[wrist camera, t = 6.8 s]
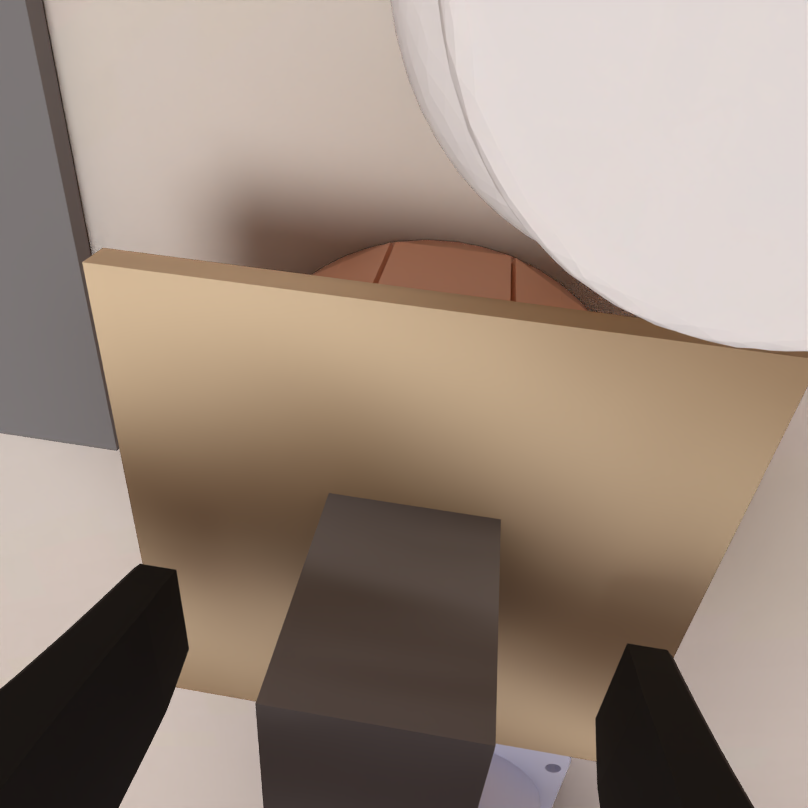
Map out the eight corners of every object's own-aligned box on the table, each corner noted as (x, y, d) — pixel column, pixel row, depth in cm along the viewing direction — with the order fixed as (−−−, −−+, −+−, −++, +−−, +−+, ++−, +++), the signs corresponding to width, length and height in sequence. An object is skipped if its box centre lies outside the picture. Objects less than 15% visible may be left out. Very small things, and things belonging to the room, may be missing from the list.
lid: (616, 740, 15) (649, 993, 12) (177, 663, 16) (74, 879, 12) (804, 339, 10) (995, 586, 6) (103, 248, 10) (-138, 415, 7)
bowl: (577, 577, 18) (592, 713, 15) (258, 527, 19) (204, 647, 16) (679, 269, 13) (733, 371, 10) (239, 214, 14) (154, 293, 11)
